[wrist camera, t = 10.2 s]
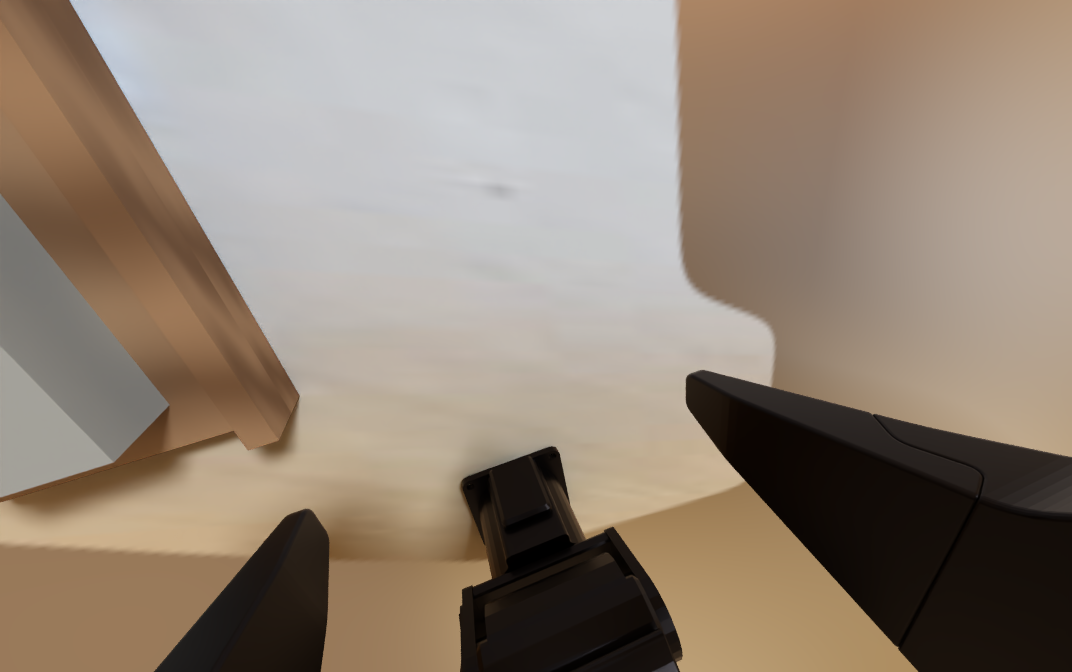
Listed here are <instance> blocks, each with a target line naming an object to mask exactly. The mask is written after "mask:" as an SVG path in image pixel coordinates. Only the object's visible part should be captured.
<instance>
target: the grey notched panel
mask: <svg viewBox="0 0 1072 672" xmlns="http://www.w3.org/2000/svg"><path fill="white" fill-rule="evenodd" d="M168 406H169V404H168V402H167V401H166V400H165V399H164V397H163V396H162V395H161V394H160V392H159V391H158V390H157V389H156V387H155V386H154V385H153V384H152V382H151V381H150V380H149V379H148V377H147V376H146V375H145V374H144V372H143V371H142V370H141V369H140V367H139V366H138V365H137V364H136V362H135V361H134V360H133V359H132V357H131V356H130V355H129V354H128V352H127V351H126V350H125V349H124V347H123V346H122V345H121V344H120V342H119V341H118V340H117V339H116V337H115V336H114V335H113V334H112V332H111V331H110V330H109V329H108V327H107V326H106V325H105V324H104V322H103V321H102V320H101V319H100V317H99V316H98V315H97V314H96V312H95V311H94V310H93V309H92V307H91V306H90V305H89V304H88V303H87V301H86V300H85V299H84V298H83V296H82V295H81V294H80V293H79V291H78V290H77V289H76V288H75V286H74V285H73V284H72V283H71V281H70V280H69V279H68V278H67V276H66V275H65V274H64V273H63V271H62V270H61V269H60V268H59V266H58V265H57V264H56V263H55V261H54V260H53V259H52V258H51V256H50V255H49V254H48V253H47V251H46V250H45V249H44V248H43V246H42V245H41V244H40V243H39V241H38V240H37V239H36V238H35V236H34V235H33V234H32V233H31V231H30V230H29V229H28V228H27V226H26V225H25V224H24V223H23V221H22V220H21V219H20V218H19V216H18V215H17V214H16V213H15V211H14V210H13V209H12V208H11V206H10V205H9V204H8V203H7V201H6V200H5V199H4V198H3V197H2V195H1V194H0V497H4V496H7V495H10V494H13V493H17V492H20V491H23V490H26V489H30V488H33V487H36V486H39V485H43V484H46V483H49V482H52V481H55V480H59V479H62V478H65V477H68V476H72V475H75V474H78V473H81V472H85V471H88V470H91V469H94V468H97V467H101V466H104V465H107V464H110V463H114V462H115V461H116V460H117V459H118V458H119V457H120V456H121V455H122V454H123V453H124V451H125V450H126V449H127V448H128V447H129V446H130V445H131V444H132V443H133V442H134V441H135V440H136V439H137V438H138V437H139V436H140V435H141V434H142V433H143V432H144V431H145V430H146V429H147V428H148V427H149V426H150V425H151V424H152V423H153V422H154V421H155V419H156V418H157V417H158V416H159V415H160V414H161V413H162V412H163V411H164V410H165V409H166V408H167V407H168Z"/></svg>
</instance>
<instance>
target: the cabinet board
mask: <svg viewBox="0 0 1072 672" xmlns="http://www.w3.org/2000/svg"><path fill="white" fill-rule="evenodd" d="M0 194H1V195H2V197H3V198H4V199H5V200H6V201H7V203H8V204H9V205H10V206H11V208H12V209H13V210H14V211H15V213H16V214H17V215H18V216H19V218H20V219H21V220H22V221H23V223H24V224H25V225H26V226H27V228H28V229H29V230H30V231H31V233H32V234H33V235H34V236H35V238H36V239H37V240H38V241H39V243H40V244H41V245H42V246H43V248H44V249H45V250H46V251H47V253H48V254H49V255H50V256H51V258H52V259H53V260H54V261H55V263H56V264H57V265H58V266H59V268H60V269H61V270H62V271H63V273H64V274H65V275H66V276H67V278H68V279H69V280H70V281H71V283H72V284H73V285H74V286H75V288H76V289H77V290H78V291H79V293H80V294H81V295H82V296H83V298H84V299H85V300H86V301H87V303H88V304H89V305H90V306H91V307H92V309H93V310H94V311H95V312H96V314H97V315H98V316H99V317H100V319H101V320H102V321H103V322H104V324H105V325H106V326H107V327H108V329H109V330H110V331H111V332H112V334H113V335H114V336H115V337H116V339H117V340H118V341H119V342H120V344H121V345H122V346H123V347H124V349H125V350H126V351H127V352H128V354H129V355H130V356H131V357H132V359H133V360H134V361H135V362H136V364H137V365H138V366H139V367H140V369H141V370H142V371H143V372H144V374H145V375H146V376H147V377H148V379H149V380H150V381H151V382H152V384H153V385H154V386H155V387H156V389H157V390H158V391H159V392H160V394H161V395H162V396H163V397H164V399H165V400H166V401H167V402H168V404H169V406H168V407H167V408H166V409H165V410H164V411H163V412H162V413H161V414H160V415H159V416H158V417H157V418H156V419H155V421H154V422H153V423H152V424H151V425H150V426H149V427H148V428H147V429H146V430H145V431H144V432H143V433H142V434H141V435H140V436H139V437H138V438H137V439H136V440H135V441H134V442H133V443H132V444H131V445H130V446H129V447H128V448H127V449H126V450H125V451H124V453H123V454H122V455H121V456H120V457H119V458H118V459H117V460H116V461H115V462H114V463H110V464H107V465H104V466H101V467H97V468H94V469H91V470H88V471H85V472H81V473H78V474H75V475H72V476H68V477H65V478H62V479H59V480H55V481H52V482H49V483H46V484H43V485H39V486H36V487H33V488H30V489H26V490H23V491H20V492H17V493H13V494H10V495H7V496H4V497H0V502H3V501H6V500H10V499H13V498H16V497H19V496H23V495H26V494H29V493H32V492H36V491H39V490H42V489H45V488H49V487H52V486H55V485H59V484H62V483H65V482H68V481H72V480H75V479H78V478H81V477H85V476H88V475H91V474H94V473H98V472H101V471H104V470H107V469H111V468H114V467H117V466H120V465H124V464H127V463H130V462H134V461H137V460H140V459H143V458H147V457H150V456H153V455H156V454H160V453H163V452H166V451H169V450H173V449H176V448H179V447H182V446H186V445H189V444H192V443H195V442H199V441H202V440H205V439H208V438H212V437H215V436H218V435H222V434H225V433H228V432H231V431H234V432H235V433H236V435H237V436H238V437H239V439H240V440H241V442H242V443H243V444H244V446H245V447H246V448H247V450H251V449H254V448H257V447H260V446H264V445H267V444H270V443H273V442H276V441H279V439H280V437H281V435H282V433H283V430H284V428H285V426H286V424H287V422H288V420H289V417H290V415H291V413H292V411H293V409H294V406H295V404H296V402H297V400H298V398H299V394H298V392H297V390H296V389H295V387H294V385H293V384H292V382H291V380H290V378H289V377H288V375H287V373H286V372H285V370H284V368H283V366H282V365H281V363H280V361H279V360H278V358H277V356H276V354H275V353H274V351H273V349H272V348H271V346H270V344H269V342H268V341H267V339H266V337H265V336H264V334H263V332H262V330H261V329H260V327H259V325H258V324H257V322H256V320H255V318H254V317H253V315H252V313H251V312H250V310H249V308H248V306H247V305H246V303H245V301H244V300H243V298H242V296H241V294H240V293H239V291H238V289H237V288H236V286H235V284H234V282H233V281H232V279H231V277H230V276H229V274H228V272H227V270H226V269H225V267H224V265H223V264H222V262H221V260H220V258H219V257H218V255H217V253H216V252H215V250H214V248H213V246H212V245H211V243H210V241H209V240H208V238H207V236H206V234H205V233H204V231H203V229H202V228H201V226H200V224H199V222H198V221H197V219H196V217H195V216H194V214H193V212H192V210H191V209H190V207H189V205H188V204H187V202H186V200H185V198H184V197H183V195H182V193H181V191H180V190H179V188H178V186H177V185H176V183H175V181H174V179H173V178H172V176H171V174H170V173H169V171H168V169H167V167H166V166H165V164H164V162H163V161H162V159H161V157H160V155H159V154H158V152H157V150H156V149H155V147H154V145H153V143H152V142H151V140H150V138H149V137H148V135H147V133H146V131H145V130H144V128H143V126H142V125H141V123H140V121H139V119H138V118H137V116H136V114H135V113H134V111H133V109H132V107H131V106H130V104H129V102H128V101H127V99H126V97H125V95H124V94H123V92H122V90H121V89H120V87H119V85H118V83H117V82H116V80H115V78H114V77H113V75H112V73H111V71H110V70H109V68H108V66H107V65H106V63H105V61H104V59H103V58H102V56H101V54H100V53H99V51H98V49H97V47H96V46H95V44H94V42H93V41H92V39H91V37H90V35H89V34H88V32H87V30H86V29H85V27H84V25H83V23H82V22H81V20H80V18H79V17H78V15H77V13H76V11H75V10H74V8H73V6H72V5H71V3H70V1H69V0H0Z"/></svg>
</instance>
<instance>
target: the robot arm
mask: <svg viewBox="0 0 1072 672" xmlns="http://www.w3.org/2000/svg"><path fill="white" fill-rule="evenodd" d="M686 404H687V407H688V409H689V410H690V412H691V413H692V414H693V416H694V417H695V419H696V420H697V421H698V423H699V424H700V425H701V427H702V428H703V429H704V431H705V432H706V433H707V435H708V436H709V437H710V439H711V440H712V442H713V443H714V444H715V446H716V447H717V448H718V450H719V451H720V452H721V453H722V455H723V456H724V457H725V459H726V460H727V461H728V462H729V463H730V464H731V465H732V467H733V468H734V469H735V470H736V471H737V472H738V473H739V474H740V475H741V476H742V478H743V479H744V480H745V481H746V482H747V483H748V484H749V485H750V486H751V487H752V488H753V489H754V491H755V492H756V493H757V494H758V495H759V496H760V497H761V498H762V500H763V501H764V502H765V503H766V504H767V505H768V506H769V507H770V508H771V509H772V511H773V512H774V513H775V514H776V515H777V516H778V517H779V518H780V519H781V520H782V522H783V523H784V524H785V525H786V526H787V527H788V528H789V529H790V530H791V531H792V533H793V534H794V535H795V536H796V537H797V538H798V539H799V540H800V541H801V542H802V543H803V545H804V546H805V547H806V548H807V549H808V550H809V551H810V552H811V553H812V555H813V556H814V557H815V558H816V559H817V560H818V561H819V562H820V563H821V564H822V565H823V567H825V569H826V570H827V571H828V572H829V573H830V574H831V575H832V577H833V578H834V579H835V580H836V581H837V582H838V583H839V584H840V585H841V586H842V587H843V589H844V590H845V591H846V592H847V593H848V594H849V595H850V596H851V597H852V598H853V600H854V601H855V602H856V603H857V604H858V605H859V606H860V607H861V609H863V611H864V612H865V613H866V614H867V615H868V616H869V617H870V618H871V619H872V621H873V622H874V623H875V624H876V625H877V626H878V627H879V628H880V629H881V630H882V631H883V633H884V634H885V635H886V636H887V637H888V638H889V639H890V640H891V641H892V643H893V644H894V645H895V646H897V647H898V649H899V651H900V652H901V653H902V654H903V655H904V656H905V657H906V658H907V660H908V661H909V662H910V663H911V664H912V665H913V666H914V667H915V668H916V669H917V670H918V672H1072V457H1068V456H1062V455H1057V454H1053V453H1048V452H1043V451H1038V450H1034V449H1029V448H1024V447H1019V446H1014V445H1009V444H1004V443H999V442H995V441H990V440H985V439H981V438H975V437H971V436H966V435H962V434H957V433H952V432H947V431H943V430H939V429H933V428H929V427H925V426H921V425H917V424H913V423H909V422H904V421H901V420H897V419H893V418H889V417H885V416H881V415H877V414H873V415H872V414H871V413H869V412H865V411H862V410H857V409H854V408H850V407H846V406H842V405H838V404H834V403H830V402H826V401H823V400H819V399H814V398H811V397H806V396H803V395H799V394H795V393H791V392H787V391H784V390H779V389H776V388H772V387H768V386H764V385H760V384H756V383H752V382H749V381H745V380H741V379H737V378H733V377H729V376H725V375H721V374H717V373H713V372H710V371H706V370H699V371H697V372H694V373H691V374H689V375H688V376H687V378H686ZM551 454H553V455H551ZM469 484H472V485H469ZM462 488H463V491H464V494H465V497H466V499H467V502H468V504H469V507H470V509H471V512H472V514H473V517H474V520H475V522H476V525H477V527H478V530H479V532H480V535H481V538H482V540H483V543H484V545H485V546H486V551H487V556H488V561H489V565H490V571H491V575H492V579H491V580H488V581H486V582H484V583H481V584H479V585H476V586H474V587H473V586H469V587H467V588H464V589H462V606H460V614H459V619H460V629H461V669H460V672H680V671H679V668H678V666H677V663H676V662H677V661H679V660H681V659H682V656H683V655H682V648H681V644H680V640H679V637H678V634H677V632H676V629H675V626H674V624H673V621H672V619H671V616H670V614H669V612H668V610H667V608H666V606H665V603H664V601H663V600H662V598H661V596H660V594H659V592H658V590H657V588H656V587H655V585H654V583H653V582H652V580H651V579H650V577H649V576H648V575H647V573H646V572H645V570H644V569H643V567H642V566H641V565H640V563H639V562H638V561H637V559H636V558H635V556H634V555H633V554H632V552H631V551H630V549H629V548H628V547H627V545H626V544H625V542H624V541H623V540H622V538H621V537H620V535H619V534H618V533H617V531H616V530H615V529H614V527H611V528H608V529H606V530H604V532H603V533H601V534H598V535H596V536H594V537H591V538H589V539H587V540H586V538H585V536H584V534H583V532H582V530H581V528H580V525H579V523H578V521H577V519H576V517H575V515H574V512H573V510H572V508H571V506H570V502H569V497H568V492H567V487H566V482H565V477H564V473H563V468H562V463H561V458H560V454H559V452H558V450H557V448H556V447H553V446H552V447H548V448H545V449H542V450H540V451H537V452H534V453H531V454H529V455H526V456H523V457H520V458H518V459H515V460H512V461H509V462H507V463H504V464H501V465H498V466H496V467H493V468H490V469H487V470H485V471H482V472H479V473H476V474H474V475H471V476H468V477H466V478H465V479H464V480H463V481H462ZM328 579H329V537H328V534H327V532H326V530H325V529H324V527H323V526H322V524H321V523H320V521H319V520H318V518H317V517H316V515H315V514H314V513H313V511H312V510H310V509H303V510H300V511H297V512H295V513H292V514H289V515H287V516H286V517H285V518H284V519H283V520H282V521H281V523H280V524H279V525H278V526H277V527H276V528H275V530H274V531H273V532H272V533H271V534H270V536H269V537H268V538H267V539H266V540H265V541H264V543H263V544H262V545H261V546H260V547H259V548H258V550H257V551H256V552H255V553H254V554H253V556H252V557H251V558H250V559H249V560H248V561H247V563H246V564H245V565H244V566H243V567H242V569H241V570H240V571H239V572H238V573H237V574H236V576H235V577H234V578H233V579H232V580H231V582H230V583H229V584H228V585H227V586H226V588H225V589H224V590H223V591H222V592H221V593H220V595H219V596H218V597H217V598H216V599H215V600H214V602H213V603H212V604H211V605H210V606H209V608H208V609H207V610H206V611H205V612H204V613H203V615H202V616H201V617H200V618H199V619H198V621H197V622H196V623H195V624H194V625H193V626H192V627H191V629H190V630H189V631H188V632H187V633H186V635H185V636H184V637H183V638H182V639H181V640H180V642H179V643H178V644H177V645H176V646H175V648H174V649H173V650H172V651H171V652H170V653H169V655H168V656H167V657H166V658H165V659H164V661H163V662H162V663H161V664H160V665H159V666H158V668H157V669H156V670H155V671H154V672H321V665H322V657H323V650H324V642H325V634H326V625H327V612H328Z"/></svg>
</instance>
